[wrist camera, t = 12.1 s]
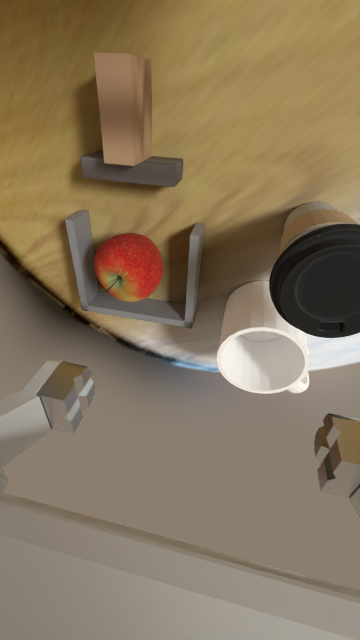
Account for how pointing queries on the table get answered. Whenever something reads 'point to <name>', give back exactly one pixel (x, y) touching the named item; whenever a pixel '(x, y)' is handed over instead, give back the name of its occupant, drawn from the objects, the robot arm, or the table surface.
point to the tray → (110, 305)
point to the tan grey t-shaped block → (127, 125)
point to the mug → (261, 344)
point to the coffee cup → (318, 272)
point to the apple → (129, 266)
